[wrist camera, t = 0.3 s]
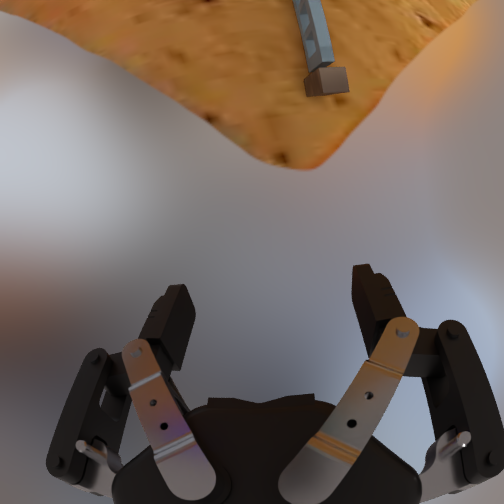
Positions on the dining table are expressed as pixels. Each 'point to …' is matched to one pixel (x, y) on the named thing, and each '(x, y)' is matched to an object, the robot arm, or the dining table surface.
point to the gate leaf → (314, 34)
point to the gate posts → (326, 81)
